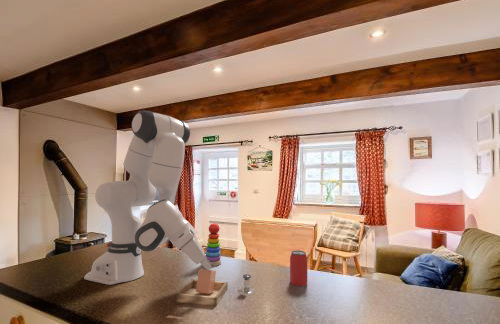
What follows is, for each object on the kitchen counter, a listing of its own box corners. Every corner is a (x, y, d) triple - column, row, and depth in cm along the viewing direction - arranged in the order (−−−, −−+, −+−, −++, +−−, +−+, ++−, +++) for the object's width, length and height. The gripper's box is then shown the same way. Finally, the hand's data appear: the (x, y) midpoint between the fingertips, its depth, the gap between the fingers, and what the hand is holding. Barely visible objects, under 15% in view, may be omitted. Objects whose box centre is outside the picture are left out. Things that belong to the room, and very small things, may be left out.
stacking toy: (218, 267, 119) (218, 225, 120) (201, 265, 120) (202, 224, 121) (223, 261, 127) (223, 222, 128) (207, 260, 128) (208, 221, 129)
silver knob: (235, 296, 90) (236, 278, 91) (240, 288, 97) (240, 271, 97) (254, 298, 89) (254, 280, 89) (257, 290, 95) (257, 273, 96)
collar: (195, 291, 88) (198, 269, 91) (201, 290, 92) (204, 269, 95) (208, 293, 87) (211, 270, 90) (213, 292, 91) (216, 270, 94)
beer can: (286, 283, 101) (286, 252, 102) (296, 279, 106) (296, 248, 106) (301, 289, 96) (301, 255, 97) (310, 283, 101) (310, 252, 102)
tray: (176, 303, 85) (176, 294, 85) (192, 287, 97) (192, 279, 97) (216, 308, 82) (216, 298, 82) (227, 290, 94) (227, 282, 95)
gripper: (179, 240, 103) (202, 267, 102) (174, 246, 83) (203, 279, 83) (192, 229, 104) (214, 256, 104) (190, 232, 85) (218, 265, 84)
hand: (209, 266), depth 93 cm, fingers open, 6 cm apart
